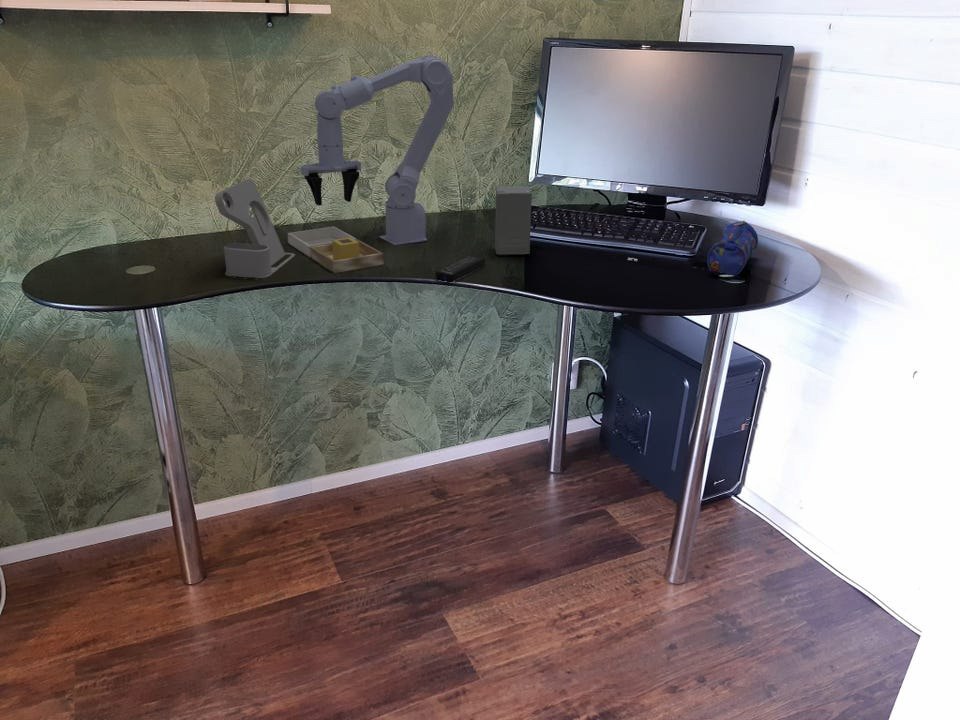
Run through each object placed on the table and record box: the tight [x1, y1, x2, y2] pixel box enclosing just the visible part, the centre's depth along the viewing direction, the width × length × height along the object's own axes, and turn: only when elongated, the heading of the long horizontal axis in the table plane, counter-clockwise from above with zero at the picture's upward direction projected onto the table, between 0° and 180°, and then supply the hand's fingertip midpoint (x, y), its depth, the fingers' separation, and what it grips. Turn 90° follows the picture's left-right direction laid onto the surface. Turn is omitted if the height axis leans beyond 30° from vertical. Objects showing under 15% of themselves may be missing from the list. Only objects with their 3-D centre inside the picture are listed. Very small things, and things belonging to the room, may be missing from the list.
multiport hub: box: [434, 255, 486, 282], centre depth 172 cm, size 4×14×2 cm, turn 149°
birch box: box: [310, 239, 385, 276], centre depth 175 cm, size 12×12×3 cm
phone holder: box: [214, 178, 296, 278], centre depth 168 cm, size 17×10×18 cm, turn 171°
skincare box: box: [494, 185, 533, 255], centre depth 183 cm, size 8×7×16 cm
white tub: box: [287, 225, 358, 258], centre depth 184 cm, size 12×12×3 cm
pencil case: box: [706, 220, 759, 276], centre depth 181 cm, size 22×9×10 cm, turn 154°
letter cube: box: [332, 238, 360, 261], centre depth 175 cm, size 4×4×5 cm
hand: (333, 202), depth 185 cm, fingers open, 7 cm apart
